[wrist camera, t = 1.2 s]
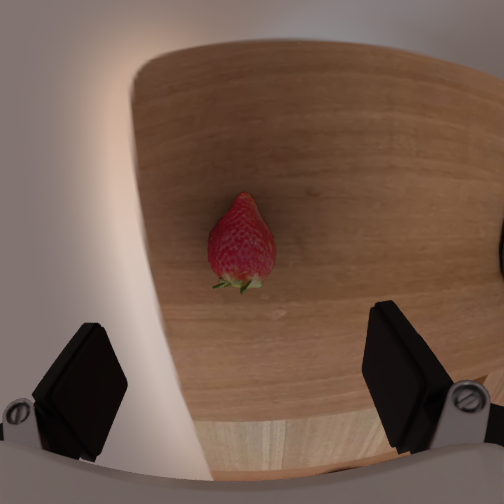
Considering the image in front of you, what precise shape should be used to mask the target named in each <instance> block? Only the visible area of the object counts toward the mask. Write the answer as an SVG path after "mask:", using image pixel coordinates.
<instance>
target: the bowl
mask: <svg viewBox="0 0 504 504" xmlns="http://www.w3.org/2000/svg"><path fill="white" fill-rule="evenodd" d="M502 257H503V274H504V244H503V249H502Z"/></svg>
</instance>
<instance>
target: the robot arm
mask: <svg viewBox="0 0 504 504" xmlns="http://www.w3.org/2000/svg"><path fill="white" fill-rule="evenodd" d="M362 374H363V377H364V379H365V382H366V384H367V387H368V389H369V391H370V394H371V396H372V399H373V402H374V404H375V407H376V409H377V412H378V414H379V417H380V420H381V422H382V425H383V427H384V430H385V433H386V435H387V438H388V441H389V444H390V446H391V447H392V448H393V447H396V449H397V452H398V454H402V453H405V452H408V451H410V453H411V455H408V456H404V457H400V458H396V459H393V460H389V461H385V462H381V463H377V464H373V465H369V466H364V467H360V468H355V469H350V470H345V471H339V472H334V473H328V474H322V475H315V476H307V477H299V478H290V479H278V480H262V481H203V480H187V479H176V478H166V477H157V476H150V475H144V474H137V473H132V472H126V471H121V470H116V469H111V468H106V467H102V466H98V465H94V464H90V463H86V462H82V461H79V458H80V457H81V458H82V459H83V460H87V461H91V462H95V460H96V457H97V456H98V455H100V454H101V452H102V449H103V446H104V444H105V441H106V439H107V436H108V433H109V431H110V429H111V426H112V424H113V421H114V419H115V416H116V413H117V411H118V409H119V406H120V404H121V401H122V399H123V397H124V394H125V392H126V390H127V386H128V383H127V379H126V377H125V375H124V373H123V370H122V368H121V366H120V364H119V362H118V359H117V357H116V355H115V352H114V350H113V348H112V345H111V343H110V341H109V338H108V336H107V333H106V331H105V329H104V327H101V325H100V324H99V323H84V324H83V325H82V326H81V327H80V328H79V330H78V331H77V332H76V334H75V335H74V336H73V338H72V339H71V340H70V341H69V343H68V344H67V345H66V347H65V348H64V349H63V351H62V352H61V354H60V355H59V356H58V358H57V359H56V360H55V362H54V363H53V364H52V366H51V367H50V369H49V370H48V372H47V373H46V374H45V376H44V377H43V379H42V380H41V381H40V383H39V384H38V386H37V387H36V389H35V390H34V392H33V393H32V396H33V398H34V399H35V403H34V404H33V403H32V402H31V401H30V400H28V399H26V398H21V399H17V400H15V401H13V402H11V403H10V404H9V405H8V406H7V407H6V409H5V410H4V413H3V423H1V424H0V504H504V407H503V406H500V405H496V404H492V403H490V395H489V392H488V390H487V389H486V388H485V387H484V386H483V385H481V384H480V383H478V382H476V381H473V380H461V381H458V382H456V383H454V382H453V381H452V379H451V378H450V376H449V375H448V373H447V372H446V371H445V369H444V368H443V366H442V365H441V363H440V362H439V360H438V359H437V358H436V356H435V355H434V353H433V352H432V351H431V349H430V348H429V346H428V345H427V344H426V342H425V341H424V339H423V338H422V337H421V336H420V335H419V334H418V333H417V332H416V331H415V329H414V328H413V326H412V325H411V324H410V322H409V321H408V320H407V318H406V317H405V316H404V314H403V313H402V312H401V311H400V309H399V308H398V307H397V305H396V304H395V303H394V302H393V301H392V300H389V301H382V302H377V303H375V306H374V307H372V308H371V309H370V313H369V321H368V329H367V337H366V344H365V350H364V356H363V363H362Z"/></svg>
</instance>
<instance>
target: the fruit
mask: <svg viewBox="0 0 504 504" xmlns="http://www.w3.org/2000/svg"><path fill="white" fill-rule="evenodd" d="M275 259H276V248H275V244H274V241H273V237H272V234H271V232H270V230H269V228H268V226H267V224H266V223H265V222H264V221H263V219H262V217H261V215H260V213H259V210H258V208H257V205H256V202H255V201H254V199H253V198H252V196H250V195H249V194H248V193H247V192H242V193H240V194H239V195H238V196H237V198H236V199H235V201H234V203H233V205H232V206H231V207H230V208H229V210H228V212H226V213H225V214H224V215H223V217H222V218H221V219H220V220H219V221H218V222H217V224H216V225H215V227H214V228H213V229H212V231H211V232H210V234H209V240H208V261H209V263H210V265H211V268H212V270H213V272H214V273H215V274H216V275H217V276H218V277H219V279H220V281H219V283H222V284H218V285H216V286H213V289H216V288H220V287H223V286H224V287H228V286H234V287H237V288H240V289H241V290H240V294H241V295H242V294H243V292H245V291H246V289H247V288H252V287H258V288H261V286H262V285H263V283H262V282H263V281H264V280H265V278H266V277H267V276H268V275H269V273H270V272H271V270H272V268H273V266H274V263H275Z"/></svg>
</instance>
